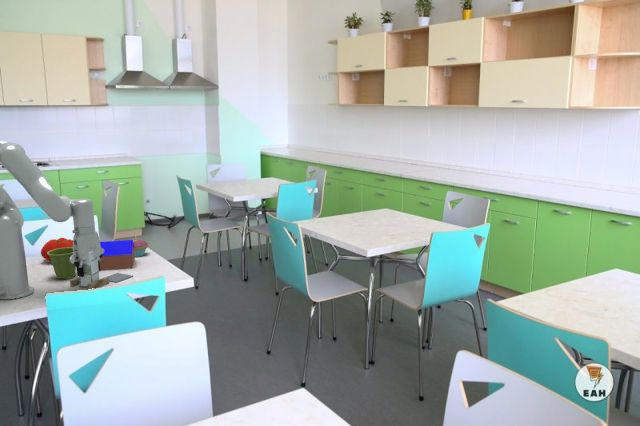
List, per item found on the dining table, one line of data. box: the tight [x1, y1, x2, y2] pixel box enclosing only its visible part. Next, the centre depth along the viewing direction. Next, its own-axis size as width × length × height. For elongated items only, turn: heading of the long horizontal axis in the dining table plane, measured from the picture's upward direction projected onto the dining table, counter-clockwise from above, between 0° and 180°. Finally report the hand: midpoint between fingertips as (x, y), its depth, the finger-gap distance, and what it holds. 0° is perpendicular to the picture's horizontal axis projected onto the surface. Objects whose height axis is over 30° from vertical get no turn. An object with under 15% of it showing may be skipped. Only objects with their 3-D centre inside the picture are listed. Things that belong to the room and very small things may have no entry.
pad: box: [100, 272, 134, 284], centre depth 227 cm, size 9×9×1 cm
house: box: [99, 239, 136, 272], centre depth 243 cm, size 12×20×12 cm, turn 104°
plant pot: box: [47, 247, 77, 280], centre depth 228 cm, size 12×12×11 cm
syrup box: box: [77, 251, 101, 288], centre depth 217 cm, size 6×6×14 cm
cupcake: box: [133, 230, 149, 257], centre depth 260 cm, size 9×8×12 cm
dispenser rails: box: [69, 276, 110, 290], centre depth 218 cm, size 10×11×2 cm
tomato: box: [40, 237, 73, 263], centre depth 252 cm, size 14×16×10 cm
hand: (89, 273), depth 218 cm, fingers closed on syrup box, 7 cm apart
